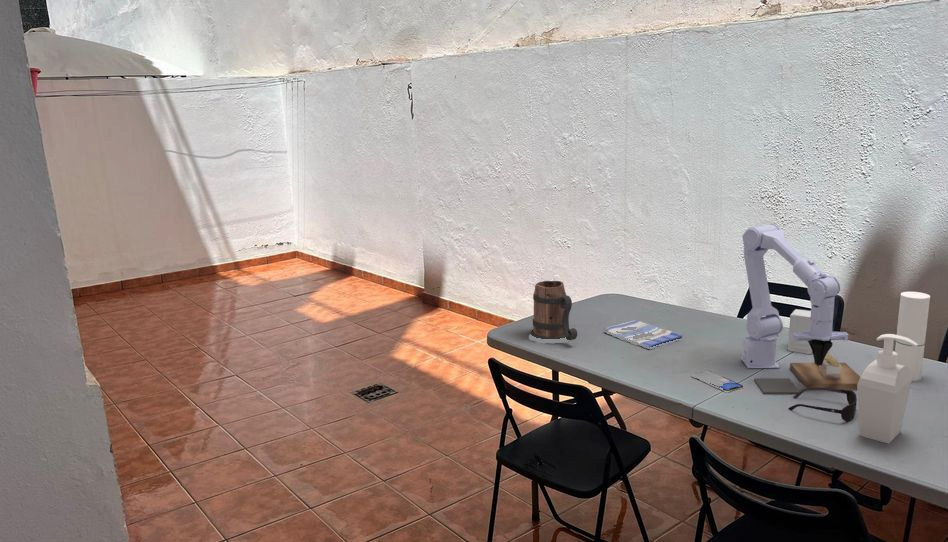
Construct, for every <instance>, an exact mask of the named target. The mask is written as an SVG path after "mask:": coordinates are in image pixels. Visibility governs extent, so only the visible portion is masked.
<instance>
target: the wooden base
mask: <svg viewBox="0 0 948 542" xmlns="http://www.w3.org/2000/svg"><path fill="white" fill-rule="evenodd" d="M839 364H840V365H841V378H840V379H826V378H825V377H824V376H823V375H822V374H821V373H820V372H819V371H818V369H819V365H816V364H815V363H814V362H790V364H789V369H790V371H791V372H792V373H793V374H794V376H795V377H796V378H797V379H798V380H799V382H800V383H801V384H802V385H803V386H804V387H805V389H806V388H812V387H818V388H833V389H842V390H851V391H857V384H858V382H859V379H860V377H861V376H860V375H859V374H858V373H857V372H856V371H855V370H854V369H853V368H852V367H850V366H849V364H847V363H846V362H839Z"/></svg>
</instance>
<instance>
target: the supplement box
mask: <svg viewBox="0 0 948 542" xmlns="http://www.w3.org/2000/svg"><path fill="white" fill-rule="evenodd" d="M810 318H811V310H807V309H796V308H795V309H794V310H793V311H792V313H791V314H790V315H789V327H788V328H789V331H788V340H787V341H788V342H787V351H789V352H794V353H800V354H807V355H812V354H813V352H812V349H811V347H810V345H809V343H808V341H799V342H795V341H794V340H793V333H801V332H808V331H810Z"/></svg>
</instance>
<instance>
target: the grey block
mask: <svg viewBox="0 0 948 542" xmlns="http://www.w3.org/2000/svg"><path fill="white" fill-rule="evenodd" d="M818 371H819V372H820V373H821V374H822V375H823V376H824V377H825V378H826V379H840V378H841V365H840V364H839V367H834V366H833V365H832V364H831V363H830V362H829V361H828V360H827V359H826V358H824V361H823V364H822V365H819V369H818Z"/></svg>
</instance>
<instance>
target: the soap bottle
mask: <svg viewBox="0 0 948 542" xmlns="http://www.w3.org/2000/svg"><path fill="white" fill-rule="evenodd" d="M881 340H883V349H882V350H878V352H877V358H876V359H874V360H873V361H871V362H870V363H869V364H868V365H867V367H865V369H864V371H863V373H862V375H861V376H860V379H859V382H858V384H857V390H856V391H857V411H858V414H857V415H858V416H857V417H858V436H860V437H864V438H867V439H870V440H874V441H877V442H881V443H885V444H888V445H890V443H892V441H893V440H894V439H895V438H896V437H897V436H898V434H900V433H901V431H902V430H901V429H902V425H903V420H904V416H905V412H906V409H907V403H908V398H909V394H910V390H911V386H912V382H913V381H912V375H911V372H910V370H909V368H908V367H906V366H903V365H899V364H897V356H898V354H897V353H896V352H895V351H894V343H895V341H896V340H897V341H902V342H905V343H908V344H910V345H912V346H914V347H916V346H917V345H918V344H917V343H916V342H914V341H913V340H911V339H909V338H907V337H903V336H899V335H897V334H894V333H885V334H881V335H879V336H878V337H876V341H881Z"/></svg>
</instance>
